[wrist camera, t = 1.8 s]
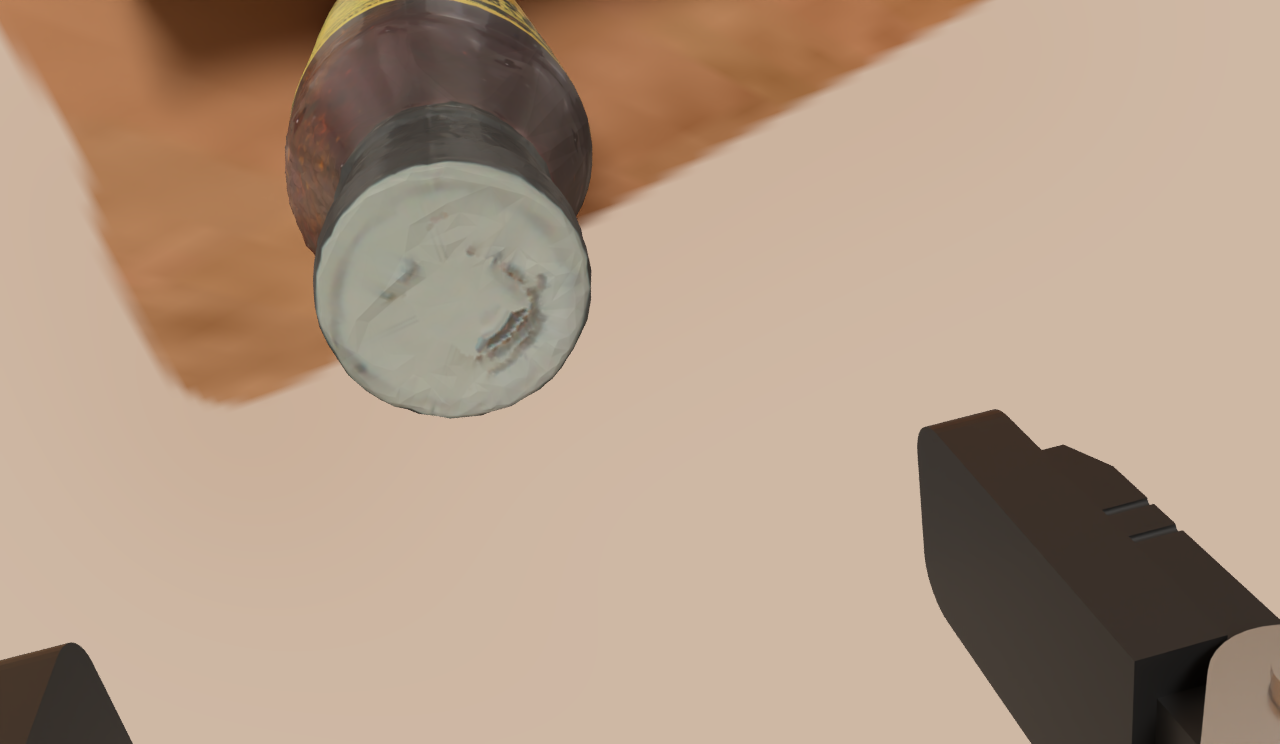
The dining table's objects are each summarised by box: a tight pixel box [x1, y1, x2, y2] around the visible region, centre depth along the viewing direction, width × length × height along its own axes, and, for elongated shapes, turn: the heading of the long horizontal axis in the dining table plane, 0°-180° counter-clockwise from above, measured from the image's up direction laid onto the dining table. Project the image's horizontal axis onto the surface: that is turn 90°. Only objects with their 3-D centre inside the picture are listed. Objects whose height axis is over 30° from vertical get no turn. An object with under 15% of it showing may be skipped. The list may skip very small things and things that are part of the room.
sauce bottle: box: [285, 0, 592, 418], centre depth 26 cm, size 7×6×20 cm
